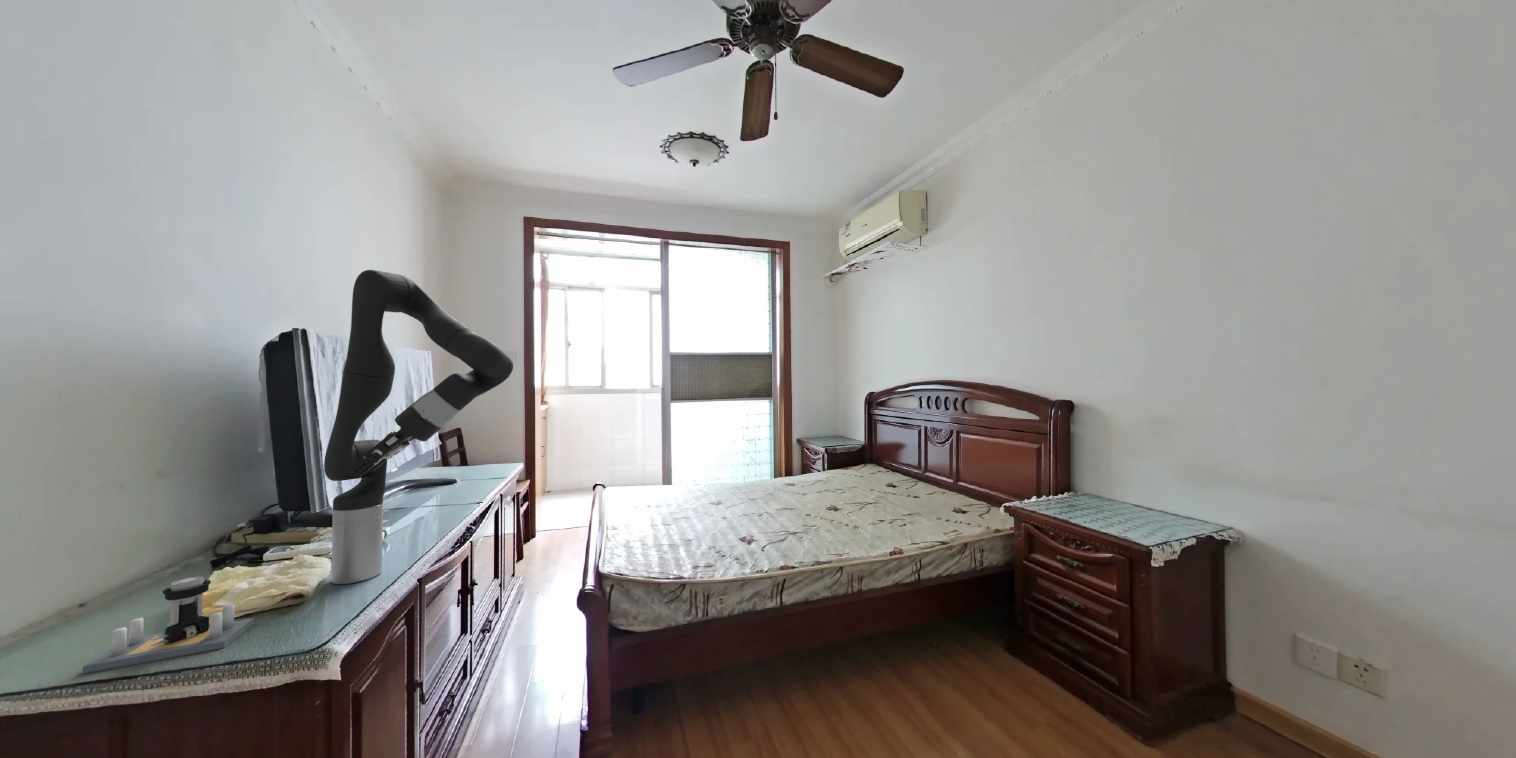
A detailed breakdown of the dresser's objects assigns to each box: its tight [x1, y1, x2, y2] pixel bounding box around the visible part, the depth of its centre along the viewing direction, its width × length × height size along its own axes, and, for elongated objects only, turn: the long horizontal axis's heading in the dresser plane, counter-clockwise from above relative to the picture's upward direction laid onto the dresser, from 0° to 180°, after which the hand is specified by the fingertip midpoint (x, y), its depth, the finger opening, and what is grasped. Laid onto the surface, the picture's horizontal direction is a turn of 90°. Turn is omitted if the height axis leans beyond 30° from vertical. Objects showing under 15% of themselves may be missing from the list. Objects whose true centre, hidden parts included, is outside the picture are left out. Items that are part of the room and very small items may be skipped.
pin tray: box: [82, 603, 254, 674], centre depth 79 cm, size 9×16×5 cm, turn 116°
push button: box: [151, 576, 212, 646], centre depth 80 cm, size 7×5×10 cm
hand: (359, 472), depth 92 cm, fingers open, 8 cm apart
